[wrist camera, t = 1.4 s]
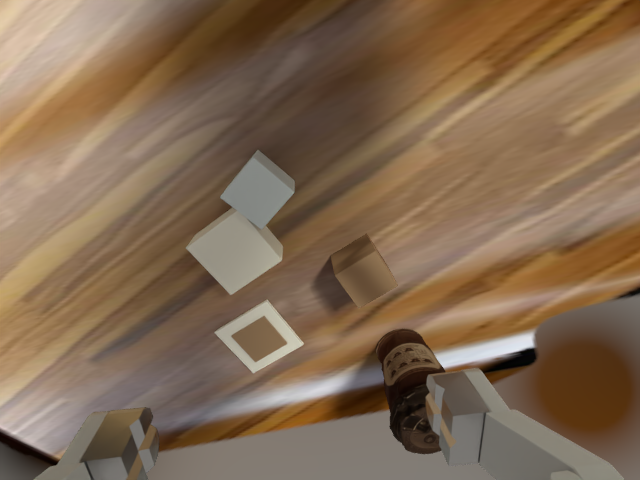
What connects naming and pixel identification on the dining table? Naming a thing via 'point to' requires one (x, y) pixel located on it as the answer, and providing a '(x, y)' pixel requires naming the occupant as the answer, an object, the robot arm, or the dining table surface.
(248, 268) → the plinth block
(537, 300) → the dining table surface
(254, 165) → the grey cube
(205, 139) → the dining table surface
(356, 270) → the walnut cube
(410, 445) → the coffee cup
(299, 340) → the tile
